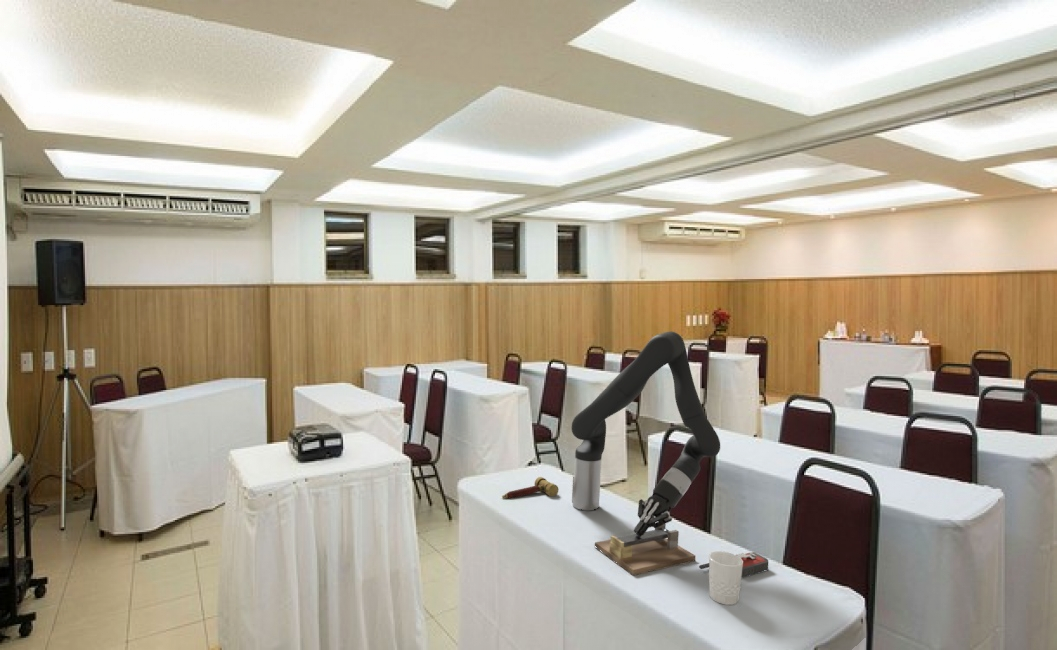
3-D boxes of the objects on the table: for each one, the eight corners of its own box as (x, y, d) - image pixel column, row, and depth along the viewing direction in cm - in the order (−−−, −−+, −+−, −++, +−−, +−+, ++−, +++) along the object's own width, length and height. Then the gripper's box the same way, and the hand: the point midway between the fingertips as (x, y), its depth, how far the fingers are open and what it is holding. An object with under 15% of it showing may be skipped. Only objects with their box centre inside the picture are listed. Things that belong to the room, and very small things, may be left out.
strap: (615, 542, 159) (615, 536, 159) (664, 532, 167) (664, 526, 167) (623, 548, 156) (623, 541, 156) (672, 537, 164) (673, 531, 164)
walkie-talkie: (747, 557, 163) (696, 570, 154) (747, 542, 163) (697, 554, 154) (772, 570, 156) (721, 585, 146) (773, 555, 156) (722, 568, 146)
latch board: (594, 547, 165) (595, 525, 164) (653, 535, 175) (654, 515, 175) (633, 575, 149) (634, 551, 148) (695, 560, 159) (696, 538, 159)
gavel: (508, 495, 197) (495, 486, 206) (508, 508, 197) (496, 498, 206) (558, 483, 207) (544, 475, 216) (558, 495, 208) (544, 487, 216)
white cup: (722, 609, 134) (725, 568, 134) (700, 592, 141) (702, 553, 141) (747, 603, 137) (750, 563, 137) (724, 587, 144) (726, 549, 144)
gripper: (651, 472, 170) (615, 517, 165) (681, 486, 158) (644, 535, 153) (663, 487, 172) (629, 532, 167) (694, 502, 161) (658, 551, 156)
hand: (636, 534), depth 160 cm, fingers closed
